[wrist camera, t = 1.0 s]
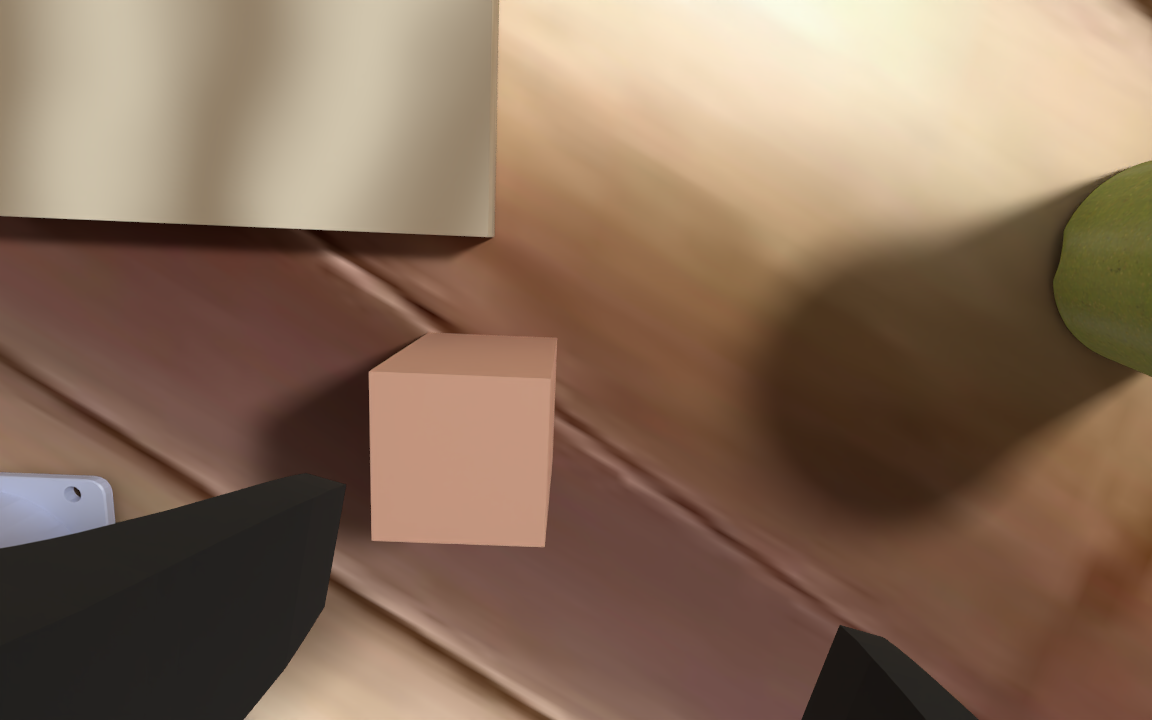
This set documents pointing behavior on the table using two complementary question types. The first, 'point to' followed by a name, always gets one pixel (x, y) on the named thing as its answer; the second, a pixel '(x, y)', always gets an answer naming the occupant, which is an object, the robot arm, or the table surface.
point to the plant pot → (1111, 270)
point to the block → (463, 440)
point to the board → (252, 113)
